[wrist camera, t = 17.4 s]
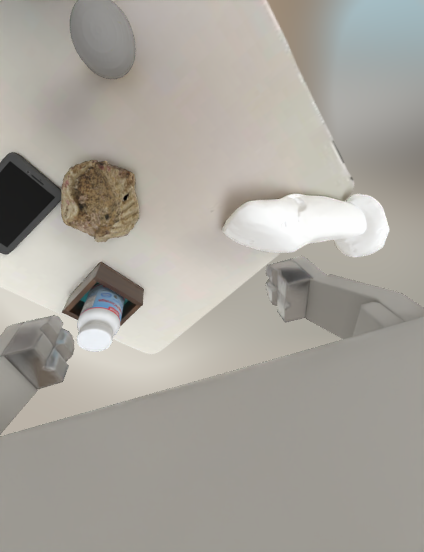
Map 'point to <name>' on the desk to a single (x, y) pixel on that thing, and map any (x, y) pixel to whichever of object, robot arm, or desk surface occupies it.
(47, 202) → the cell phone
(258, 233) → the fish
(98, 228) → the seashell
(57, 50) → the desk surface
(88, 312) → the pill bottle
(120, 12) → the light bulb
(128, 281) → the brown wooden box
